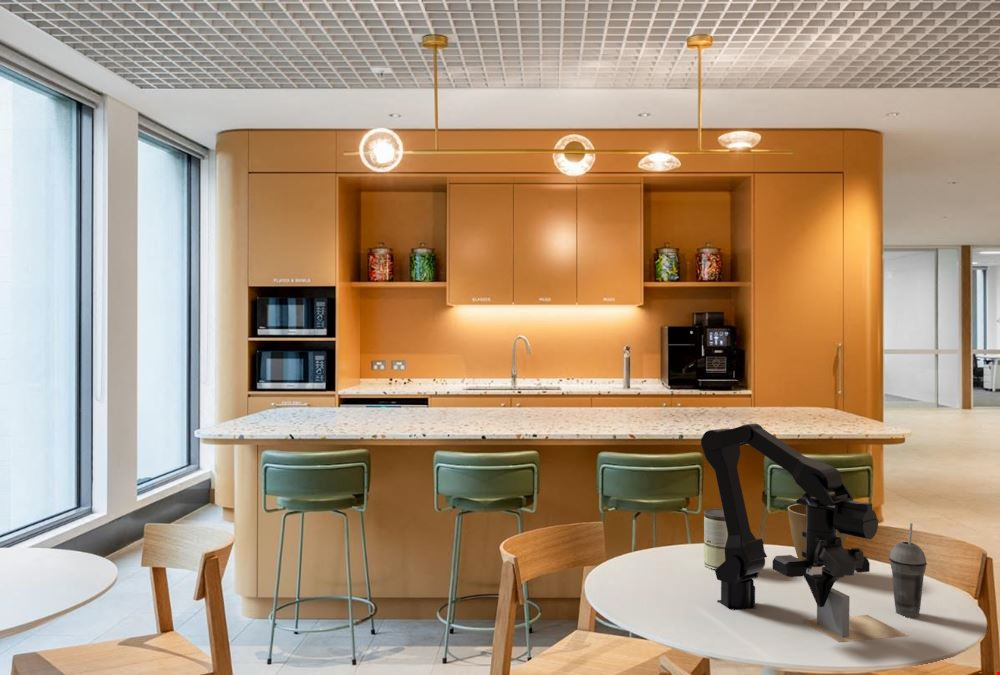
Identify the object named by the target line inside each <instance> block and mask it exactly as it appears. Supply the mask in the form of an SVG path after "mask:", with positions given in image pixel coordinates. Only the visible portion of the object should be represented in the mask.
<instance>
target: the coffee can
mask: <svg viewBox="0 0 1000 675" xmlns="http://www.w3.org/2000/svg"><path fill="white" fill-rule="evenodd" d="M703 515H704V516H703V527H704V528H703V532H704V533H703V566H704V565H705V566H706V568H707V567H708V568H707V569H709V568H712V569H717V568H718V567H719V566H720V565H721V564H722V563H723V562H725V545H726V541H727V537H728V532H727V527H726V522H725V518H724V513H723V508H722V507H721V508H708V509H704V510H703ZM705 566H704V567H705ZM712 569H711V570H712Z"/></svg>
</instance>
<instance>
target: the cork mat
mask: <svg viewBox="0 0 1000 675" xmlns="http://www.w3.org/2000/svg"><path fill="white" fill-rule="evenodd" d="M801 621H802V622H803V623H806V624H807V625H808V626H810V627H812V628H814V629H815V630H817V631H819V632H821V633H823V634H824V635H825V636H827V637H829V638H831V639H833V640H834V641H836V642H837V643H846V642H856V641H858V642H859V641H866V640H869V641H870V640H877V639H879V640H880V639H888V638H901V637H908V636H910V635H909V634H906V633H905V632H902V631H901V630H898V629H896V628H895V627H892V626H891V625H890V624H889V625H888V624H887V623H885V622H883V621H881V620H879V619H877V618H875V617H873V616H871V615H869V614H860V615H849V637H841V636H839V635H837V634H835V633H834V632H832V631H830V630H828V629H827V628H825V627H823V626H821V625H819V624H818V623H817V618H815V619H814V618H813V619H805V620H803V619H802V620H801Z"/></svg>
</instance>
